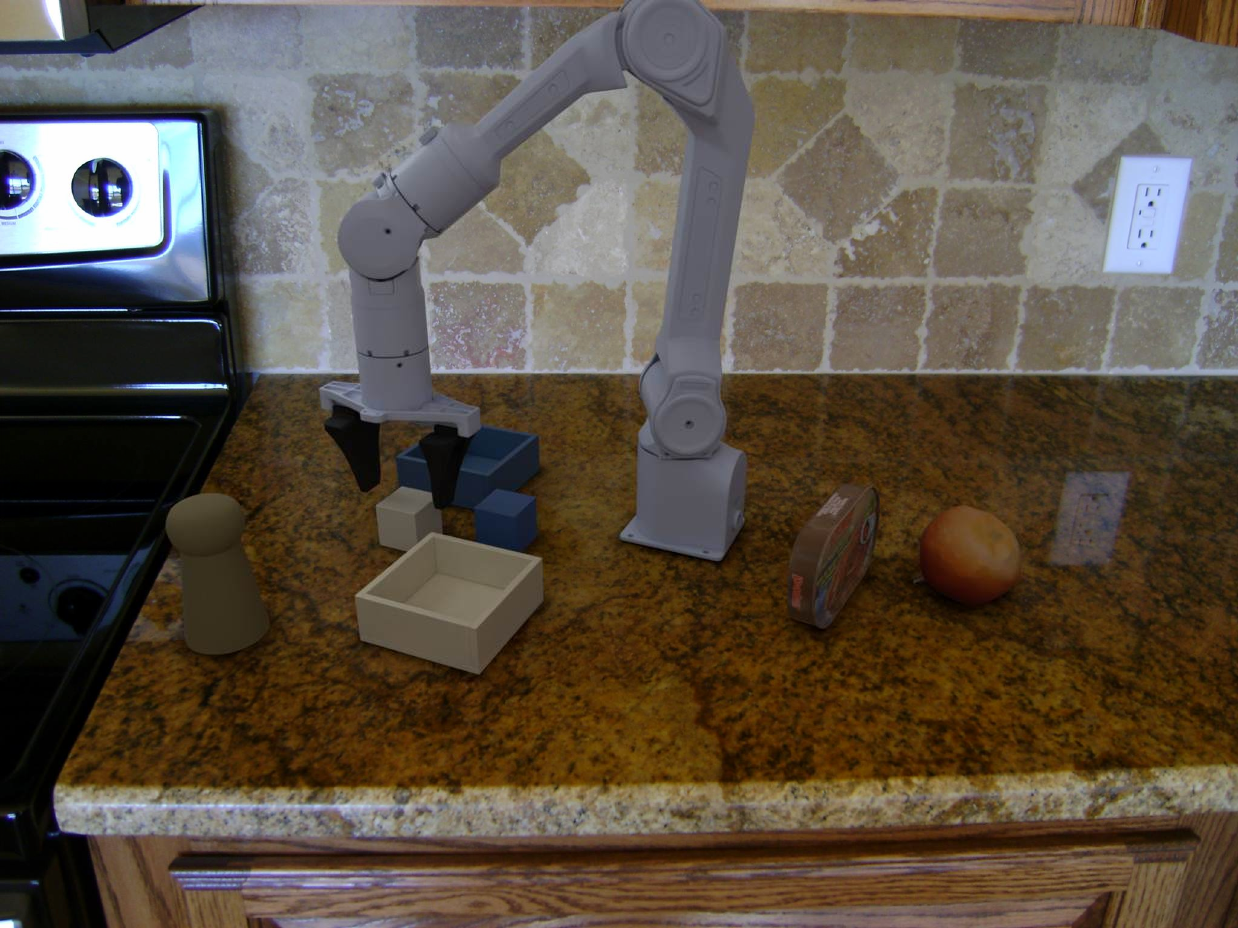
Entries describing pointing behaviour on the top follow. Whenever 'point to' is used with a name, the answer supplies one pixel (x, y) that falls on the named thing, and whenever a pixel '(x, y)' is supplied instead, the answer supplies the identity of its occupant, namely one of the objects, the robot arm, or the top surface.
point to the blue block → (506, 520)
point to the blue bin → (479, 465)
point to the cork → (216, 575)
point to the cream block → (407, 518)
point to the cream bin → (451, 601)
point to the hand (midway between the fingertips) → (406, 495)
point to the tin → (832, 554)
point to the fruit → (969, 556)
